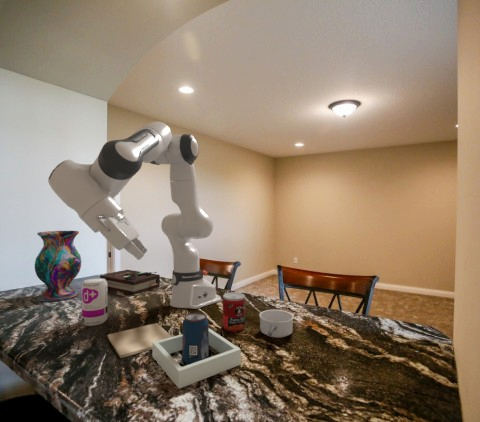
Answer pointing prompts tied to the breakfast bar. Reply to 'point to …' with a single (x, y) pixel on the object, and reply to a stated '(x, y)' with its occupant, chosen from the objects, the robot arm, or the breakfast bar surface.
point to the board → (137, 339)
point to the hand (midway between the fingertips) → (143, 255)
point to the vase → (58, 265)
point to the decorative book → (132, 281)
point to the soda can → (195, 338)
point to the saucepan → (276, 323)
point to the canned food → (233, 311)
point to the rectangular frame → (198, 369)
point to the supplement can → (94, 301)
